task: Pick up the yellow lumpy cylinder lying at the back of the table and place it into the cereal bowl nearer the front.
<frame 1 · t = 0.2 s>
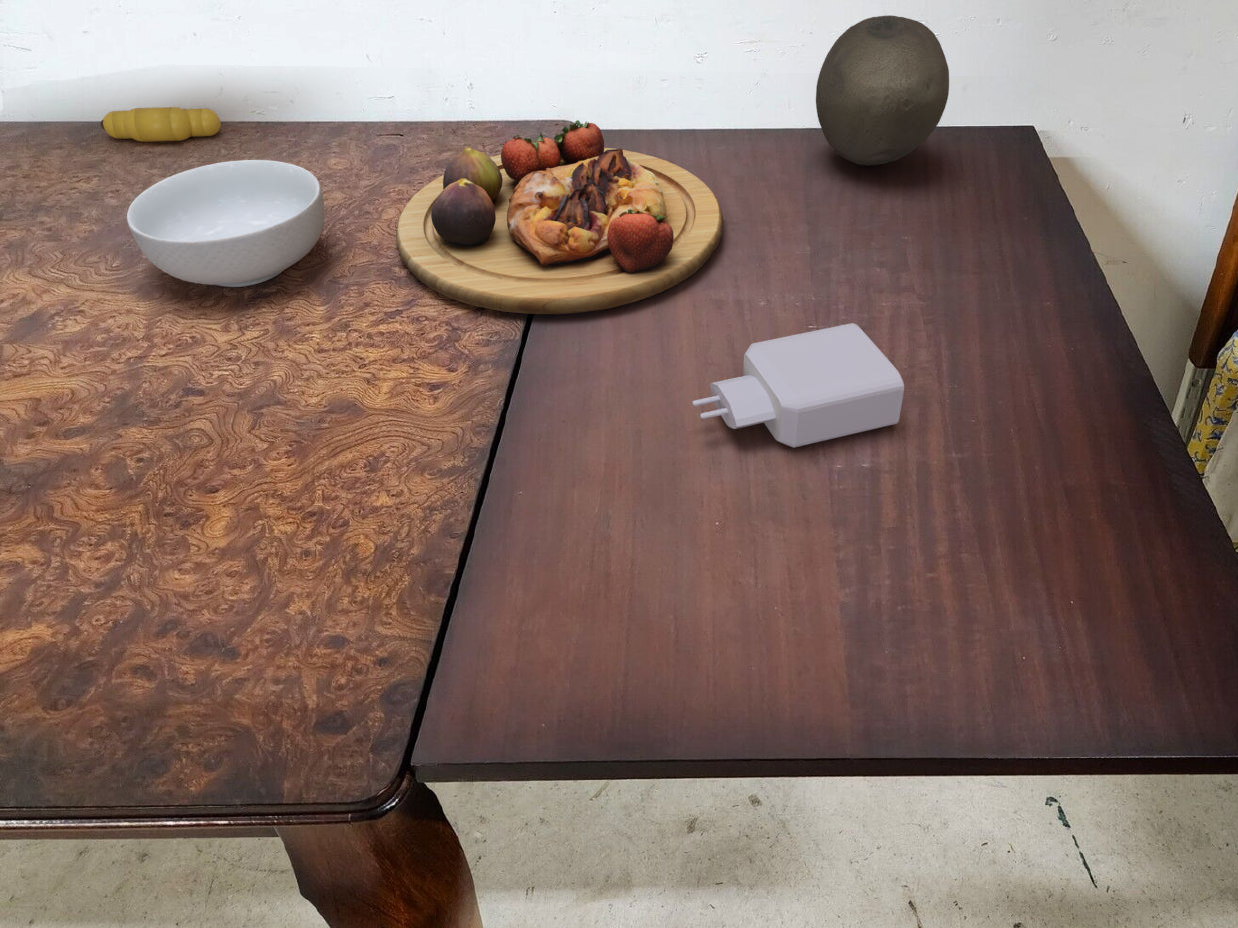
cereal bowl: (246, 268, 103), on the table
kiwi fruit: (873, 164, 120), on the table
charger: (785, 417, 86), on the table
wooden plate: (562, 236, 108), on the table
yellow lumpy cylinder: (163, 140, 125), on the table, tilted 6°
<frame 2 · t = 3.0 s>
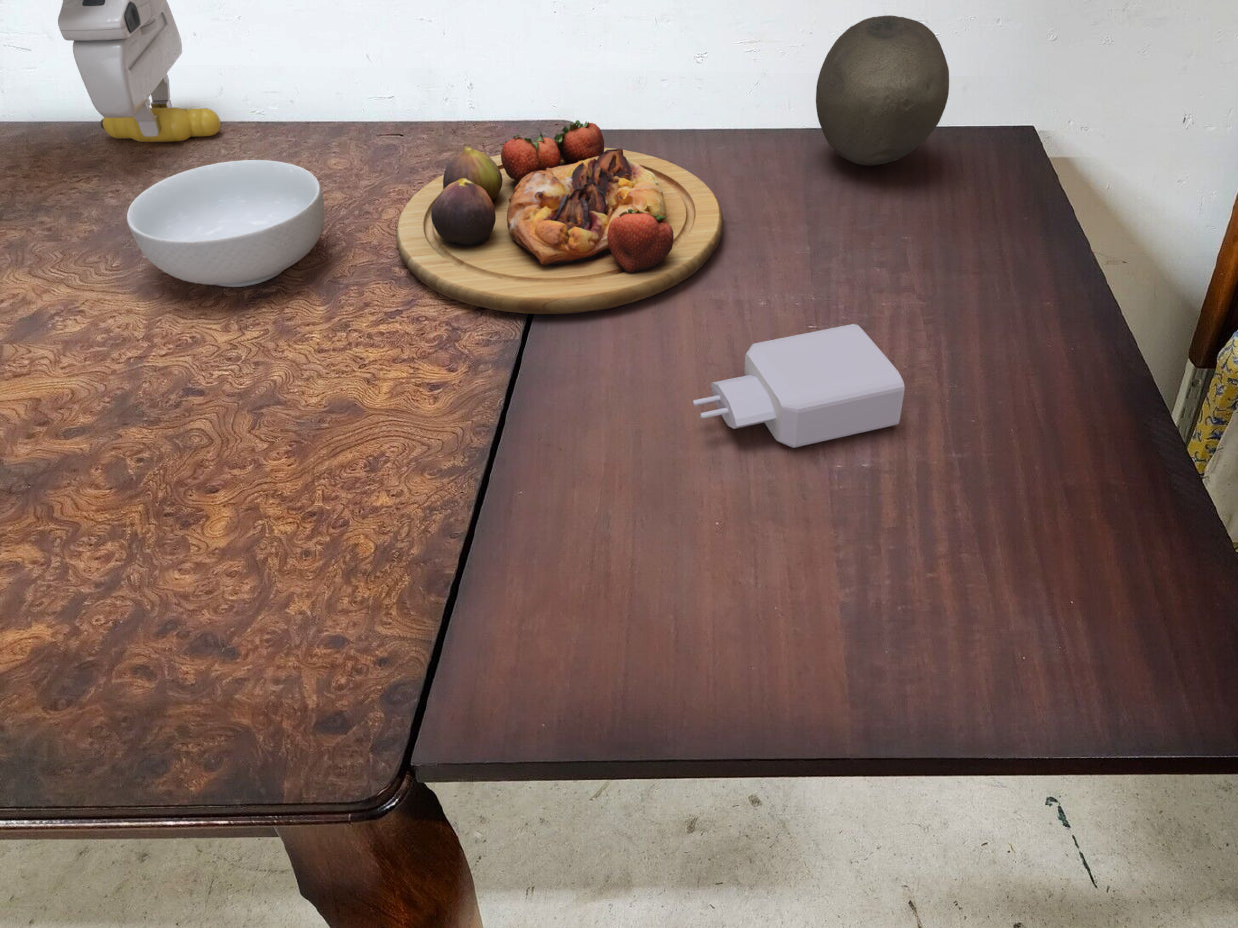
hand: (159, 125, 123), 2 cm above the table, tool pointing down, fingers closed on yellow lumpy cylinder, 3 cm apart
yellow lumpy cylinder: (163, 140, 125), on the table, touching gripper
everything else where it was.
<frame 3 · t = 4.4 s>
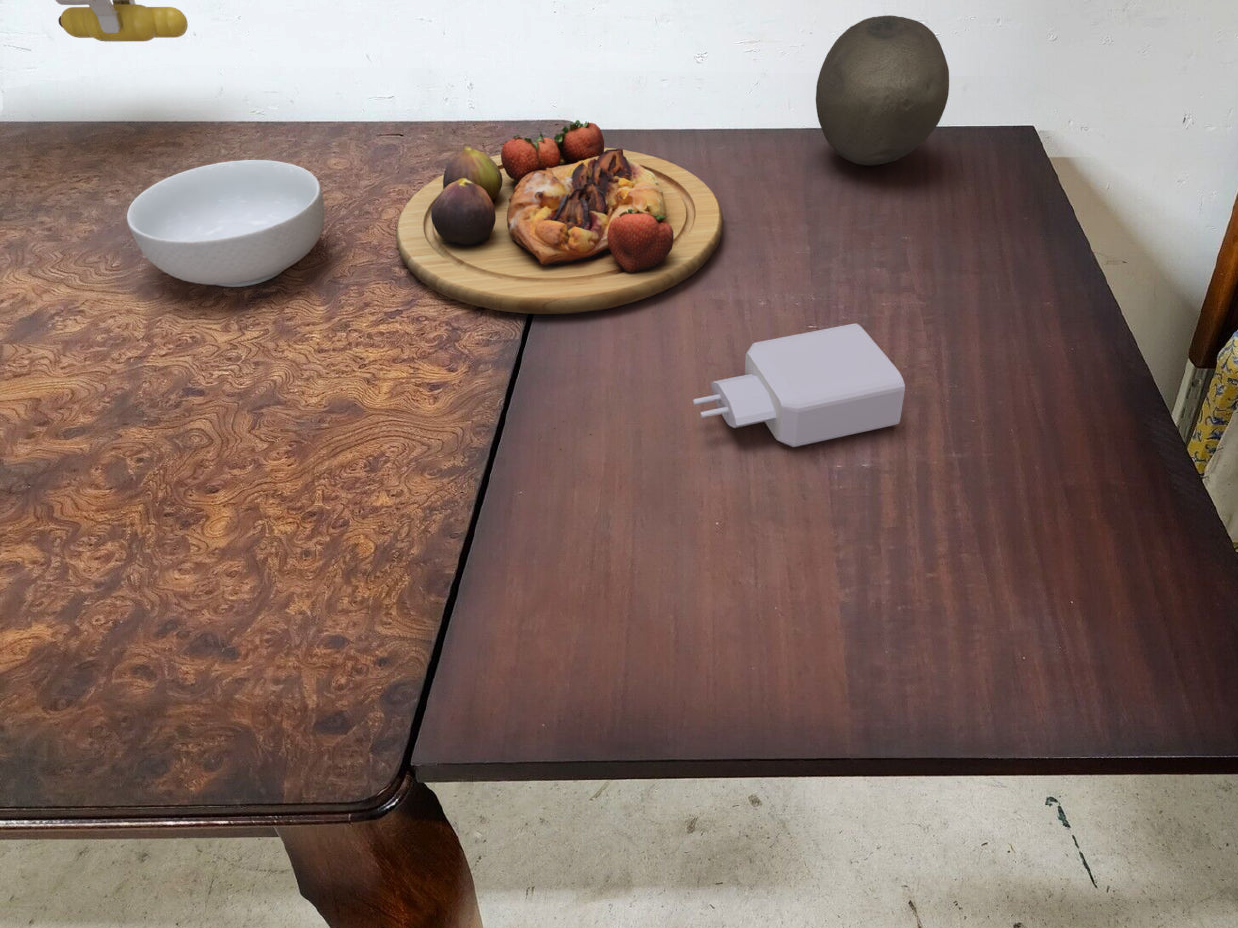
hand: (120, 23, 116), 13 cm above the table, tool pointing down, fingers closed on yellow lumpy cylinder, 3 cm apart
yellow lumpy cylinder: (126, 40, 117), point 11 cm above the table, touching gripper
everything else where it was.
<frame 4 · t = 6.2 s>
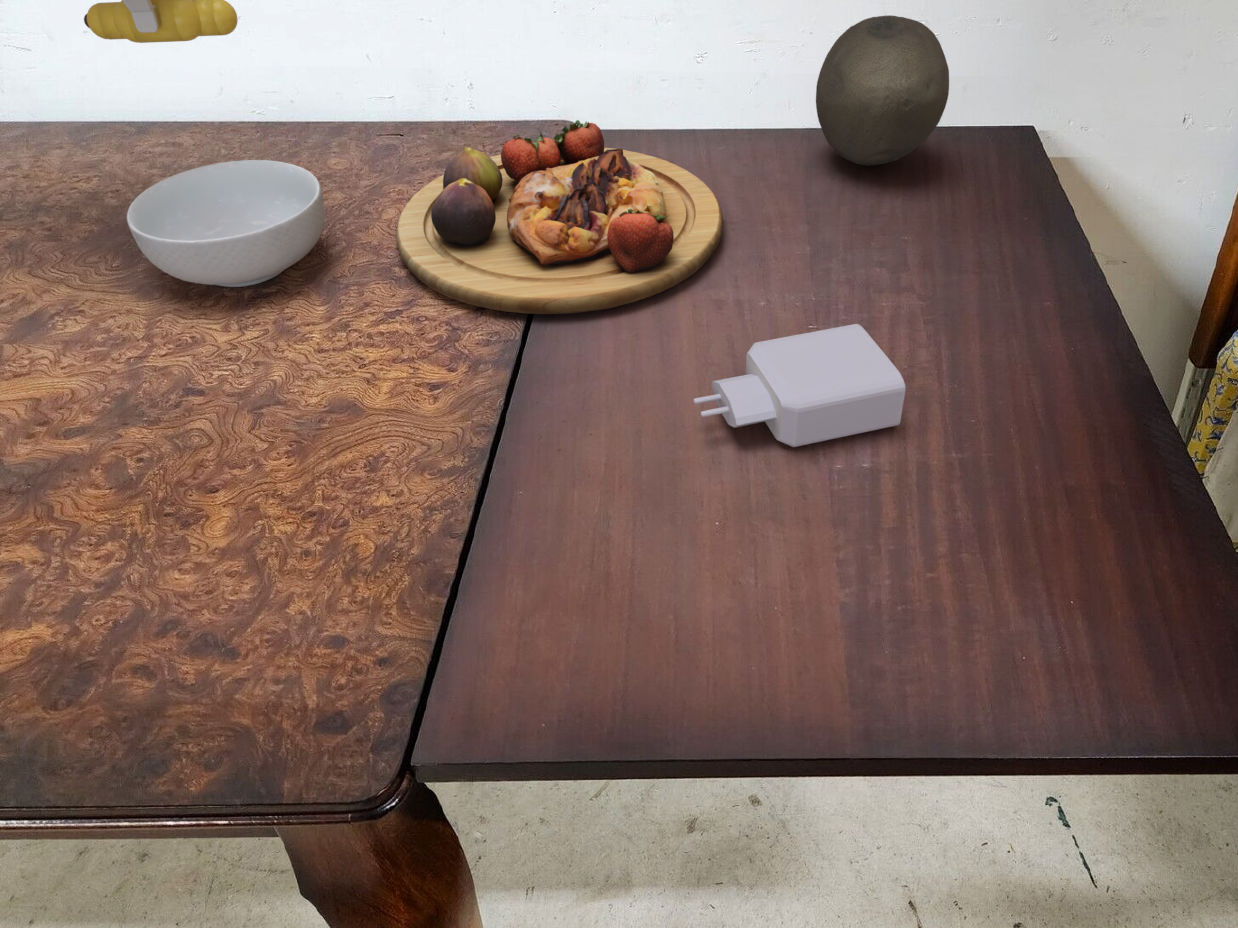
hand: (158, 20, 96), 20 cm above the table, tool pointing down, fingers closed on yellow lumpy cylinder, 3 cm apart
yellow lumpy cylinder: (165, 41, 97), point 18 cm above the table, touching gripper
everything else where it was.
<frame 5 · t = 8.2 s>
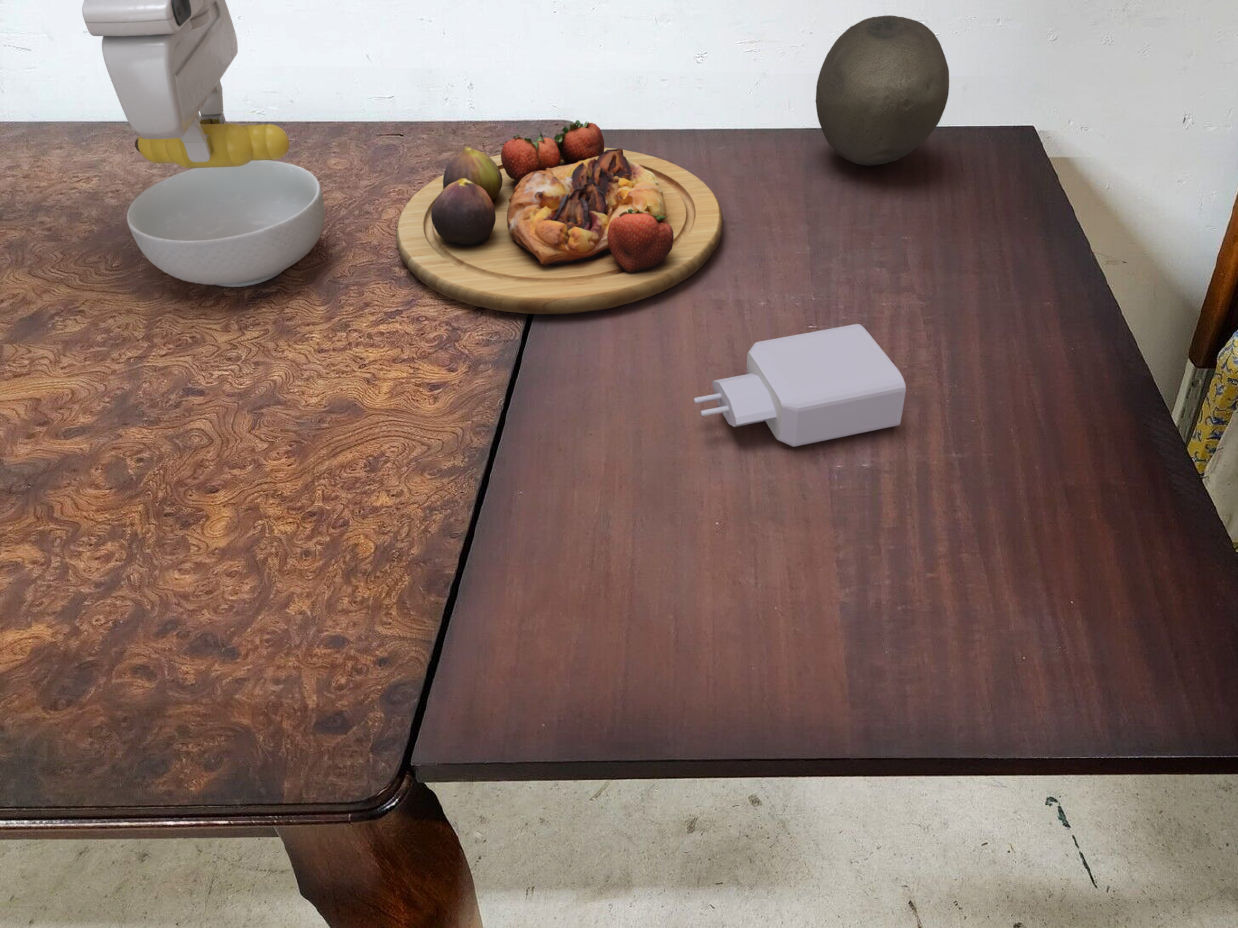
hand: (209, 146, 95), 12 cm above the table, tool pointing down, fingers closed on yellow lumpy cylinder, 3 cm apart
yellow lumpy cylinder: (216, 166, 96), point 10 cm above the table, touching gripper
everything else where it was.
when the fingers open (9 cm above the table, at t = 9.4 s): yellow lumpy cylinder stays where it is, resting on cereal bowl.
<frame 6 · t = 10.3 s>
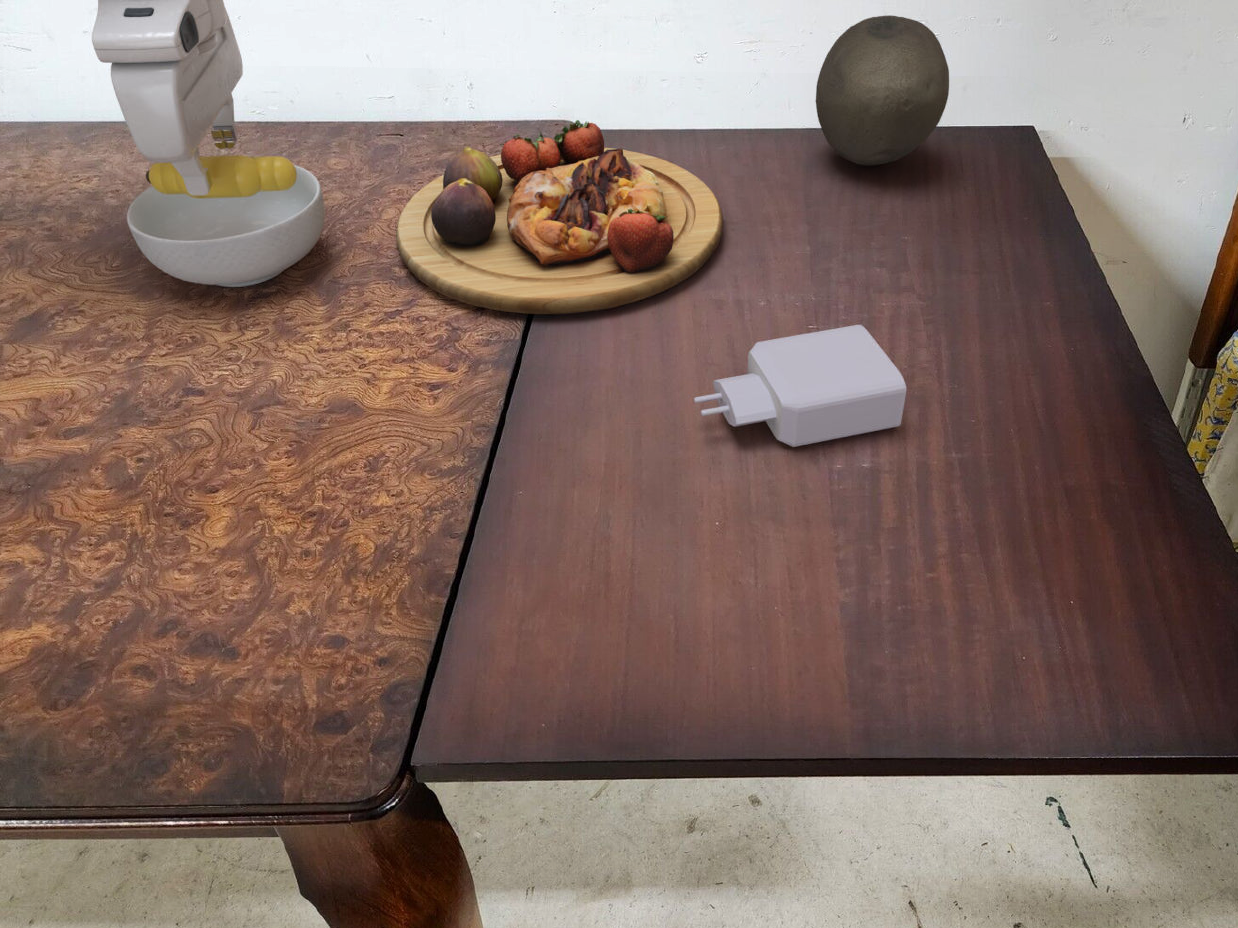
hand: (215, 167, 97), 10 cm above the table, tool pointing down, fingers open, 8 cm apart
cereal bowl: (246, 268, 103), on the table, touching yellow lumpy cylinder
yellow lumpy cylinder: (225, 196, 98), point 7 cm above the table, tilted 6°, touching cereal bowl
everything else where it was.
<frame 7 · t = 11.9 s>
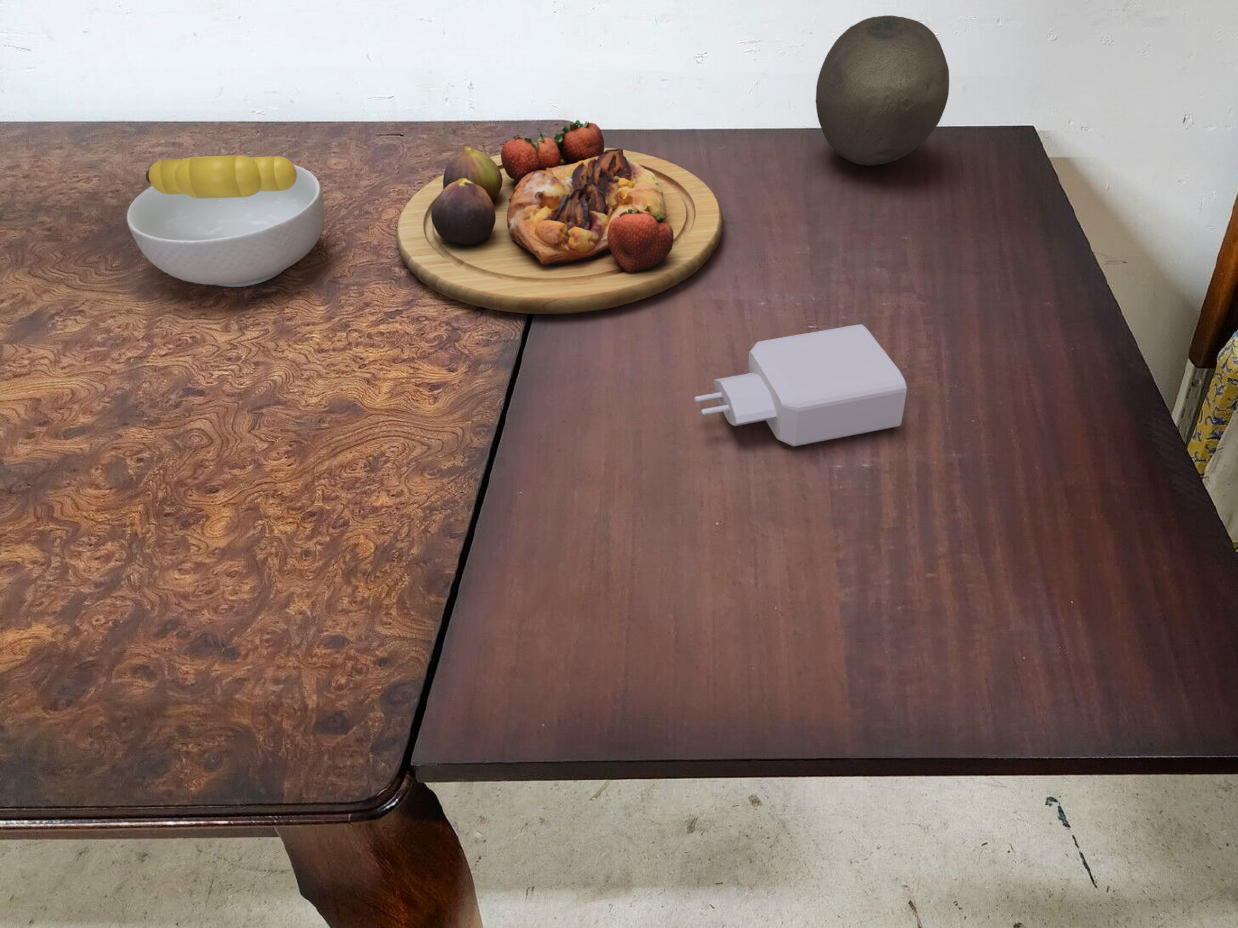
nothing on the table moved.
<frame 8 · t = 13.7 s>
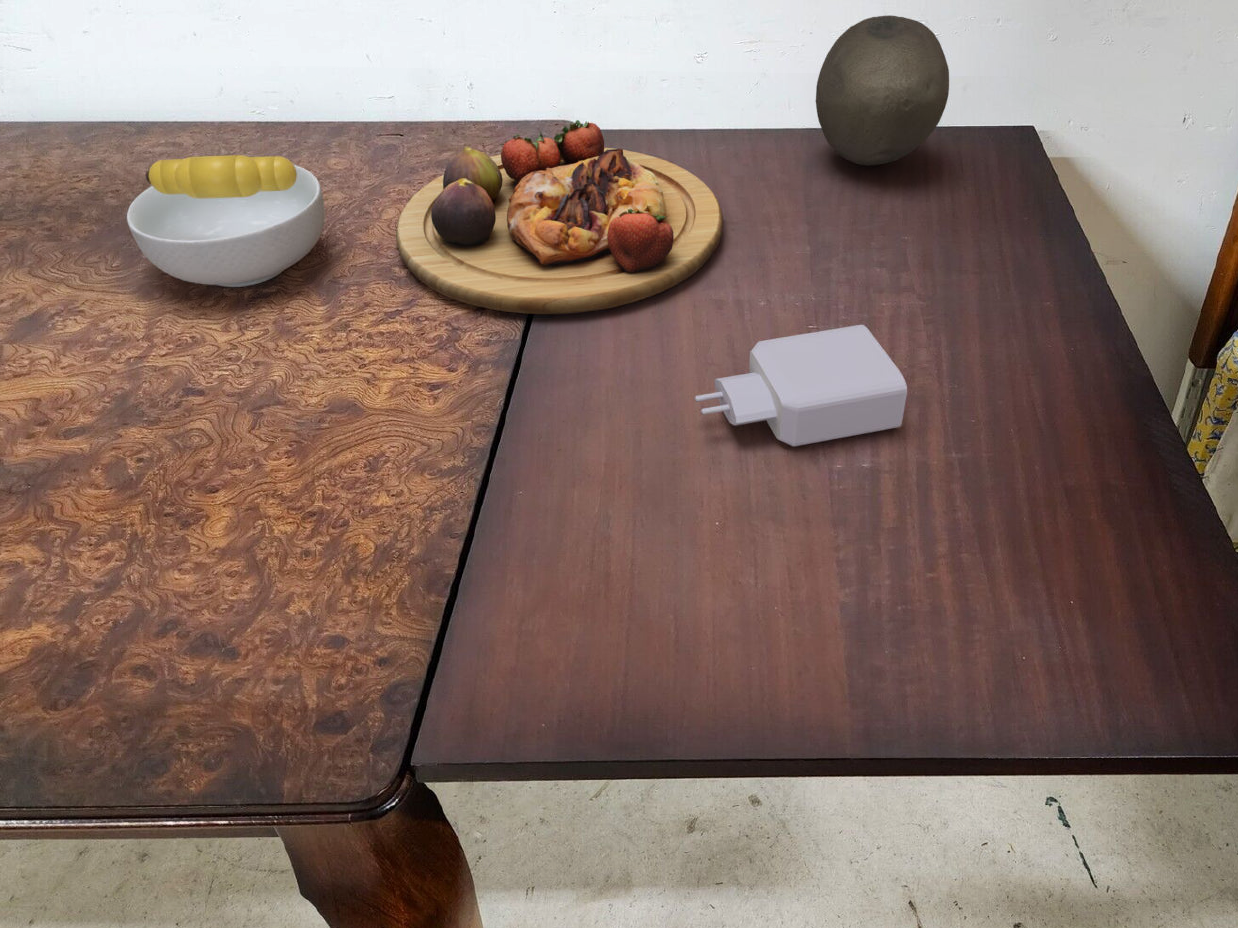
nothing on the table moved.
at the end: yellow lumpy cylinder inside the target area in the cereal bowl (0.1 cm from its centre), point 7.3 cm above the cereal bowl's base; the gripper is holding nothing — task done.
